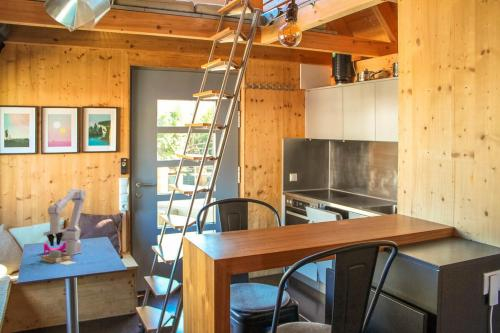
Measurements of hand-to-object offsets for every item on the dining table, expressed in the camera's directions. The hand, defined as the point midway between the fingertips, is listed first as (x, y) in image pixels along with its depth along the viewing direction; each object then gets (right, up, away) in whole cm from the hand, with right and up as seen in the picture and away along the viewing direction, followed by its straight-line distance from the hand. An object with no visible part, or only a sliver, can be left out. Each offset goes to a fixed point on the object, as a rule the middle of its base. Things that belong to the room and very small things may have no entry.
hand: (55, 245), depth 284 cm
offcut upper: (+4, -8, +4) cm, 9 cm away
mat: (+11, -10, -5) cm, 16 cm away
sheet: (0, -9, 0) cm, 9 cm away
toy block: (-9, -10, +23) cm, 26 cm away
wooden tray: (+1, -10, +1) cm, 10 cm away
